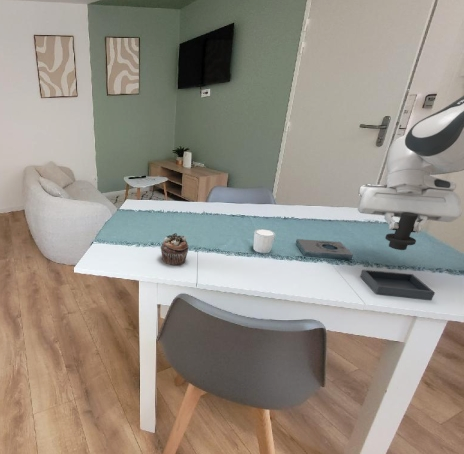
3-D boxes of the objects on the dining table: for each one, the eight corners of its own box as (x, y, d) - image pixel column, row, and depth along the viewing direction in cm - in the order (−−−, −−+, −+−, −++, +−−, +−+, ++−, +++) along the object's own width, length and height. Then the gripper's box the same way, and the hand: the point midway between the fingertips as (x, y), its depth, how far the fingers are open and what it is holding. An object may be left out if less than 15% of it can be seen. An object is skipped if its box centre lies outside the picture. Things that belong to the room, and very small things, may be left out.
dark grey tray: (409, 281, 86) (412, 274, 85) (431, 300, 78) (435, 292, 77) (359, 276, 89) (362, 269, 88) (376, 294, 81) (378, 286, 80)
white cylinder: (272, 247, 109) (276, 230, 106) (271, 255, 104) (275, 237, 101) (252, 244, 112) (255, 227, 110) (250, 251, 107) (253, 234, 104)
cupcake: (192, 257, 105) (194, 232, 101) (180, 269, 98) (181, 243, 94) (168, 251, 111) (169, 227, 107) (155, 261, 104) (155, 236, 100)
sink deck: (338, 246, 107) (340, 241, 106) (351, 259, 98) (353, 254, 97) (295, 243, 111) (296, 238, 110) (304, 256, 102) (305, 251, 101)
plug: (403, 243, 83) (416, 210, 79) (417, 253, 78) (432, 218, 74) (378, 241, 85) (389, 209, 81) (390, 251, 80) (402, 217, 76)
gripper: (363, 178, 85) (359, 220, 81) (465, 183, 75) (466, 232, 71) (356, 188, 90) (352, 229, 86) (450, 195, 80) (451, 241, 77)
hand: (404, 230), depth 79 cm, fingers closed on plug, 3 cm apart
